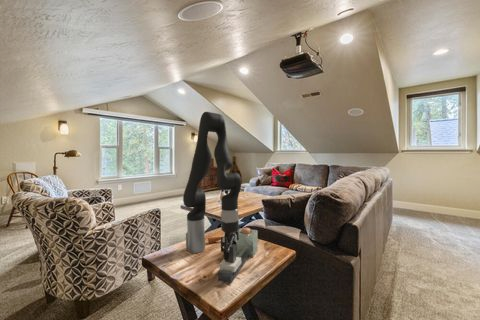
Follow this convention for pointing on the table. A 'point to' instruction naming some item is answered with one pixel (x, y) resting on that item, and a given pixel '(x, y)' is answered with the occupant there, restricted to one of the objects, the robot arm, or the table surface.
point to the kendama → (214, 239)
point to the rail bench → (229, 274)
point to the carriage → (231, 260)
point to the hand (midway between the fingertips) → (230, 255)
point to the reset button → (246, 230)
